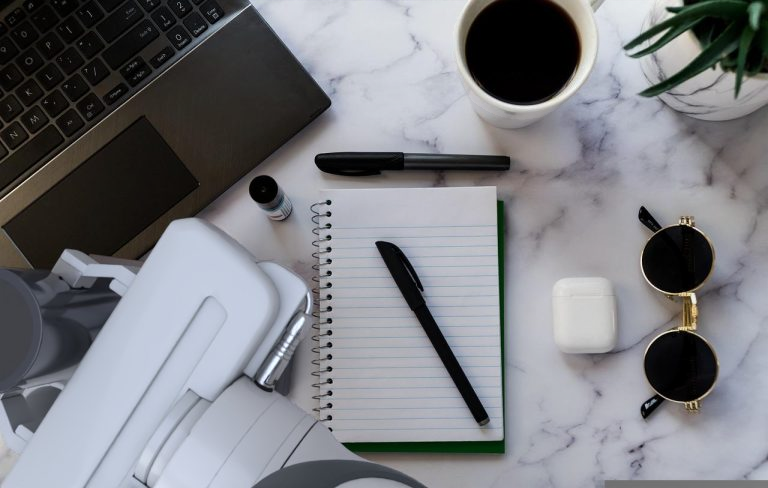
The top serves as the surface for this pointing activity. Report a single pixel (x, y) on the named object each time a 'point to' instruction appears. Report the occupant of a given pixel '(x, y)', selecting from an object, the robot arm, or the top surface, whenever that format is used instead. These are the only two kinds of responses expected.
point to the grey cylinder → (47, 325)
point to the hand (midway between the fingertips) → (25, 319)
